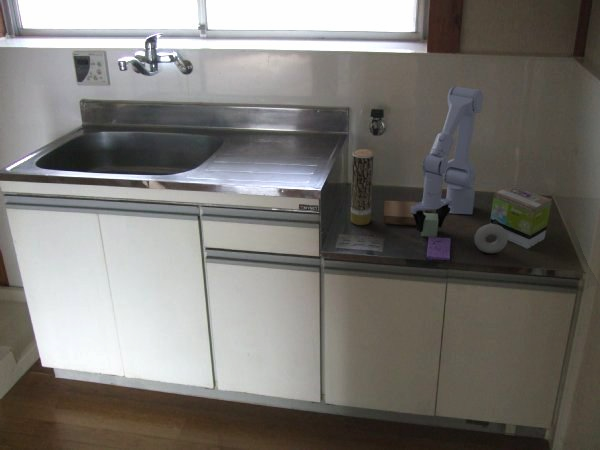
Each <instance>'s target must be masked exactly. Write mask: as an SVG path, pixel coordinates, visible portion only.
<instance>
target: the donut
mask: <svg viewBox="0 0 600 450" xmlns="http://www.w3.org/2000/svg"><path fill="white" fill-rule="evenodd" d="M488 236H495V238H496V239H495V240H494V241H492V242H488V241H487V239H486V238H488ZM508 241H509V240H508V235H507V232H506V230H505V229H504V228H503V227H501V226H499V225H497V224H490V223H487V224H485V225H483V226H480V227H479V228H478V229H477V230H476V232H475V234H474V244H475V246H476V248H477V249H478V250H480V251H481V252H483V253H485V254H496V253H499V252H500V251H502V250H503V249H504V248H505V247H506V246H507V244H508Z"/></svg>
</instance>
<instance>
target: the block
mask: <svg viewBox="0 0 600 450" xmlns="http://www.w3.org/2000/svg"><path fill="white" fill-rule="evenodd" d="M423 214H424V215H426V218H425V220H424V224H423V231H422V232H420V233H421V234H420V236H421V237H428V238H429V237H436V238H437V237H438V228H439V227H438V214H436V213H434V212H433V213H430V212H429V213H428V212H426V213H423Z"/></svg>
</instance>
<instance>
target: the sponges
mask: <svg viewBox="0 0 600 450" xmlns="http://www.w3.org/2000/svg"><path fill="white" fill-rule="evenodd" d="M451 240H452V238H450V237H438V236H437V237H428V240H427V241H428V242H427V249H426V257H427V258H428V259H427V258H426V259H427V260H432V259H442V260H441V261H443V260H451V259H450V258H451V256H450V255H451Z"/></svg>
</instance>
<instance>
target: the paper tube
mask: <svg viewBox="0 0 600 450" xmlns="http://www.w3.org/2000/svg"><path fill="white" fill-rule="evenodd" d="M351 157H352V158H351V189H350V190H351V192H350V222H351V223H352V224H353V225H357V226H366V225H368V224H370V222H371V216H372V198H373V197H372V196H373V195H372V194H373V177H374V176H373V171H374V151H372V150H370V149H366V148H362V149H361V148H359V149H355V150H353V151H352V156H351Z"/></svg>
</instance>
